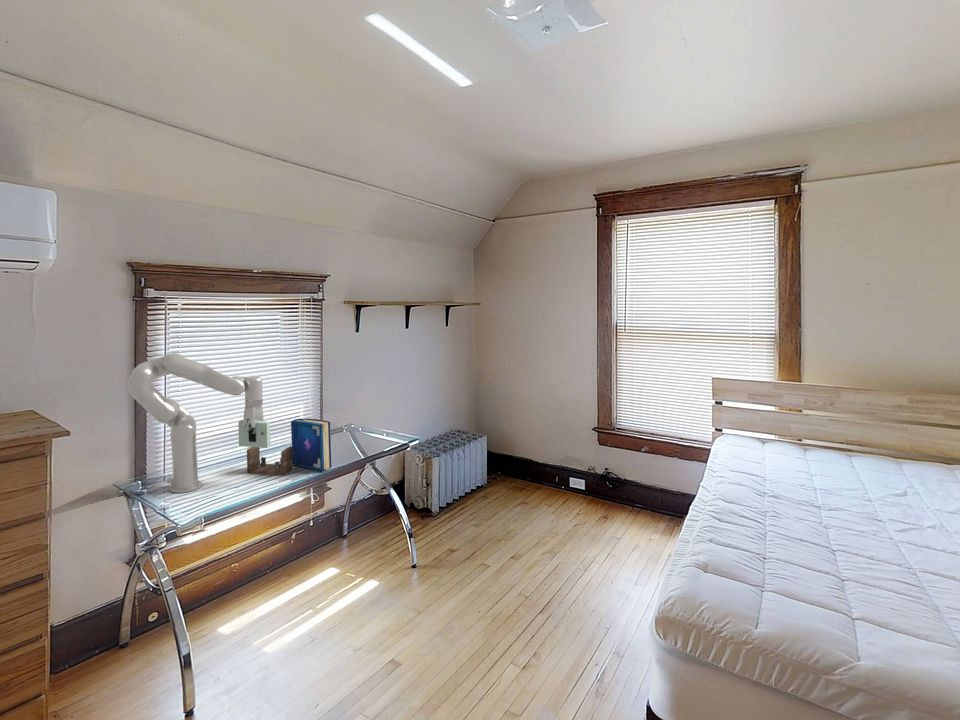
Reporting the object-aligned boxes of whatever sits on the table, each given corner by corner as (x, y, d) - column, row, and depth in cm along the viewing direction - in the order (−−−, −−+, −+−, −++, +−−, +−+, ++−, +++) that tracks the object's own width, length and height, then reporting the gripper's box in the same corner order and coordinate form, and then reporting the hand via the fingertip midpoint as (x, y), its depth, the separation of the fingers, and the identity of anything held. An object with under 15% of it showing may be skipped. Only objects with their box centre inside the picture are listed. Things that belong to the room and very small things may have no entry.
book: (289, 465, 251) (288, 418, 248) (299, 461, 258) (299, 416, 255) (322, 472, 243) (322, 424, 240) (332, 468, 250) (331, 421, 246)
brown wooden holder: (247, 473, 239) (246, 449, 238) (257, 467, 248) (256, 444, 247) (284, 475, 238) (284, 451, 236) (292, 469, 247) (292, 446, 245)
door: (237, 446, 229) (237, 421, 228) (242, 444, 233) (241, 419, 232) (266, 448, 228) (265, 423, 227) (270, 446, 232) (270, 421, 231)
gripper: (255, 399, 237) (256, 435, 239) (236, 405, 221) (237, 445, 223) (270, 399, 236) (270, 436, 239) (252, 406, 220) (252, 446, 222)
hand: (254, 440), depth 231 cm, fingers closed on door, 3 cm apart
